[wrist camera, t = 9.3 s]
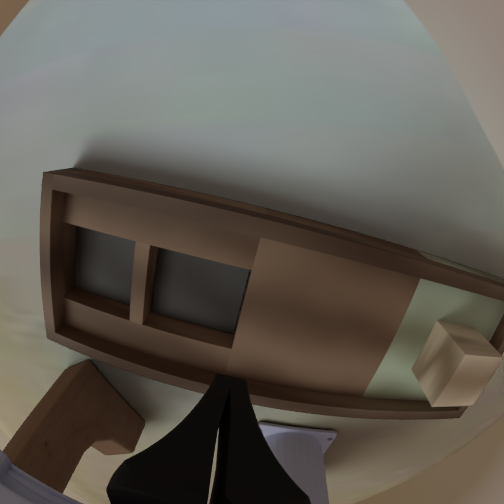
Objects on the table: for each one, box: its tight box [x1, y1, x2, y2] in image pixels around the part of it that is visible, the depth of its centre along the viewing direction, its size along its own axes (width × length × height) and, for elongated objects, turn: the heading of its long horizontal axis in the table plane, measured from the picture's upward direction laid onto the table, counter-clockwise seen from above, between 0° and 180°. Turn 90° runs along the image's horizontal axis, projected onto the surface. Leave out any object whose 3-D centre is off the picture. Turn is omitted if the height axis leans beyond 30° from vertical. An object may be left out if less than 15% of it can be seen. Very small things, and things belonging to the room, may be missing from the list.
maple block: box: [411, 321, 503, 407], centre depth 18 cm, size 4×4×4 cm
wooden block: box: [3, 360, 145, 494], centre depth 17 cm, size 9×4×18 cm, turn 29°
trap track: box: [40, 168, 504, 420], centre depth 20 cm, size 13×37×4 cm, turn 77°
